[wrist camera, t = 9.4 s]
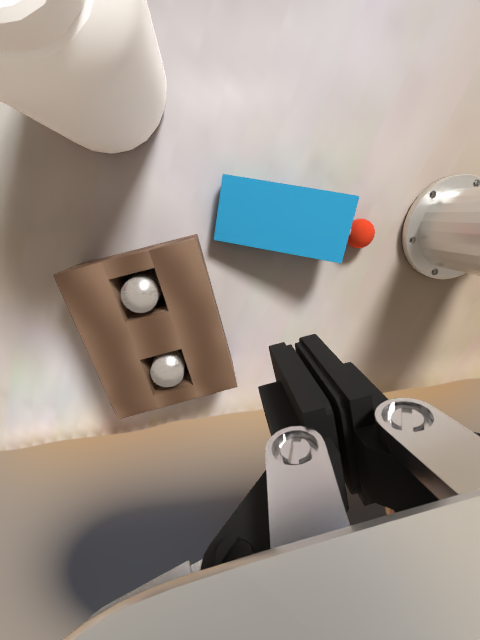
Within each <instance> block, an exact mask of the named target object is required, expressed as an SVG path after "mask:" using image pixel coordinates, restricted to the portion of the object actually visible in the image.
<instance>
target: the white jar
mask: <svg viewBox="0 0 480 640" xmlns="http://www.w3.org/2000/svg"><path fill="white" fill-rule="evenodd" d="M166 92H167V80H166V76H165V72H164V67H163V63H162V58H161V55H160V51H159V47H158V43H157V39H156V35H155V32H154V28H153V24H152V20H151V16H150V12H149V9H148V5H147V1H146V0H0V101H2V102H3V103H5V104H7V105H9V106H11V107H12V108H14V109H16V110H18V111H20V112H21V113H23V114H25V115H27V116H28V117H30V118H32V119H34V120H36V121H37V122H39V123H41V124H43V125H45V126H46V127H48V128H50V129H52V130H53V131H55V132H57V133H59V134H61V135H62V136H64V137H66V138H68V139H70V140H71V141H73V142H75V143H77V144H79V145H81V146H83V147H85V148H88V149H90V150H92V151H97V152H103V153H110V154H114V153H119V152H124V151H129V150H132V149H134V148H135V147H137V146H139V145H140V144H142V143H143V142H145V141H147V140H148V138H149V137H150V136H151V134H152V133H153V132H154V131H155V129H156V128H157V127H158V125H159V123H160V121H161V118H162V115H163V112H164V109H165V106H166Z"/></svg>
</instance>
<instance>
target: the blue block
mask: <svg viewBox="0 0 480 640" xmlns="http://www.w3.org/2000/svg"><path fill="white" fill-rule="evenodd" d="M358 200H359V196H355V195H349V194H343V193H337V192H331V191H325V190H318V189H312V188H306V187H300V186H294V185H287V184H281V183H275V182H269V181H263V180H256V179H250V178H244V177H238V176H232V175H225V174H223V176H222V184H221V191H220V198H219V205H218V212H217V220H216V227H215V234H214V240H217V241H223V242H228V243H233V244H239V245H244V246H250V247H255V248H260V249H266V250H271V251H277V252H282V253H287V254H293V255H298V256H304V257H309V258H315V259H320V260H325V261H331V262H336V263H342V260H343V256H344V253H345V249H346V245H347V243H348V244H349V245H350V246H352V247H354V248H363V247H365V246H367V245H369V244H370V243H371V241H372V240H373V238H374V234H375V230H374V226H373V225H372V224H371V223H370V221H367V220H365V219H357V220H354V221H353V219H354V215H355V211H356V207H357V203H358Z"/></svg>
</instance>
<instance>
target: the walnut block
mask: <svg viewBox="0 0 480 640" xmlns="http://www.w3.org/2000/svg"><path fill="white" fill-rule="evenodd" d="M151 268H155V271H156V274H157V277H158V280H159V283H160V286H161V289H162V292H163V295H164V297H163V298H160V299H158V301H157V303H156V305H155V306H154V308H153V309H151V310H150V311H148V312H145V313H136V312H133V311H131V310H129V309H128V308H127V307H126V306H125V305H124V304H123V302H122V299H121V289H122V287H123V285H124V284H125V283H126V282H127V281H128V280H129V278H128V274H132V273H136V272H140V271H144V270H148V269H151ZM54 278H55V280H56V282H57V284H58V287H59V289H60V291H61V293H62V295H63V298H64V300H65V302H66V304H67V307H68V309H69V311H70V313H71V316H72V318H73V320H74V322H75V324H76V327H77V329H78V331H79V333H80V336H81V338H82V340H83V342H84V345H85V347H86V349H87V351H88V353H89V356H90V358H91V360H92V362H93V365H94V367H95V369H96V371H97V374H98V376H99V378H100V380H101V383H102V385H103V387H104V389H105V391H106V394H107V396H108V398H109V400H110V403H111V405H112V407H113V409H114V412H115V414H116V416H117V418H118V419H121V418H124V417H128V416H132V415H135V414H139V413H143V412H146V411H150V410H154V409H158V408H161V407H165V406H169V405H172V404H176V403H180V402H183V401H187V400H191V399H194V398H198V397H202V396H205V395H209V394H213V393H216V392H220V391H224V390H227V389H231V388H235V387H237V382H236V377H235V372H234V368H233V363H232V358H231V355H230V351H229V347H228V344H227V340H226V337H225V333H224V329H223V326H222V322H221V318H220V315H219V311H218V308H217V304H216V300H215V297H214V293H213V289H212V286H211V282H210V279H209V275H208V271H207V268H206V264H205V260H204V257H203V253H202V250H201V246H200V242H199V239H198V235H197V234H195V235H191V236H188V237H184V238H180V239H176V240H172V241H168V242H164V243H160V244H156V245H152V246H148V247H144V248H141V249H137V250H133V251H129V252H125V253H121V254H117V255H113V256H109V257H105V258H101V259H97V260H94V261H90V262H86V263H82V264H79V265H76V266H74V267H71V268H69V269H67V270H64V271H62V272H59V273H57V274H54ZM179 349H182V352H183V355H184V358H185V368H184V376H183V378H182V380H181V382H180V383H178V384H177V385H175V386H173V387H162V386H159V385H157V384H156V383H155V382H154V381H153V380H152V378H151V374H150V370H151V367H152V364H153V361H154V358H155V356H157V355H160V354H164V353H168V352H172V351H175V350H179Z"/></svg>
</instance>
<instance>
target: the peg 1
mask: <svg viewBox="0 0 480 640" xmlns="http://www.w3.org/2000/svg"><path fill="white" fill-rule="evenodd" d="M161 293H162V289H161V286H160V283H159V280H158V277H157V274H156V271H155V268H151V269H148V270H144V271H140V272H137V273H136V274H135V275H134V276H133V277H131V278H130V279H129V280H128V281H127V282H126V283H125V284H124V285H123V287H122V289H121V299H122V302H123V304H124V305H125V306H126V307H127V308H128V309H129V310H131V311H133V312H136V313H145V312H148V311H150V310H151V309H153V308H154V306H155V305H156V303H157V301H158V299H159V297H160V295H161Z"/></svg>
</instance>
